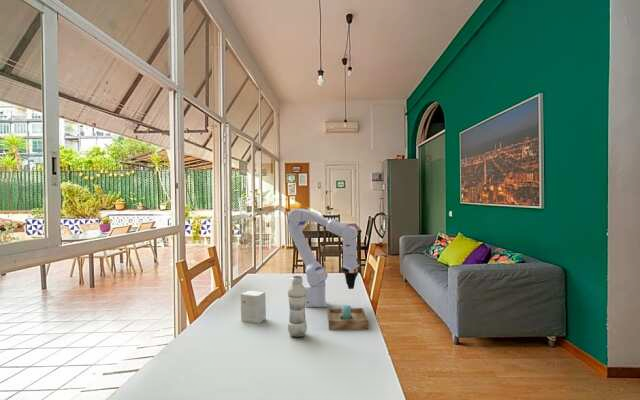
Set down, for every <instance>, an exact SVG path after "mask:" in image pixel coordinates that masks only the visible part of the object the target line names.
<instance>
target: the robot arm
mask: <svg viewBox="0 0 640 400" xmlns="http://www.w3.org/2000/svg"><path fill="white" fill-rule="evenodd" d="M287 220H288V221H287V222H288V232H289V234H290V237H291V239H292V240H293V243H294V245H295V246H296V249H297V251H298V253H299V255H300V257H301V260H302V261H303V263H304V266H305V270H304V271H305V274H306V280H307V283H308V284H305V285H304V288H305V289H306V300H305V308H321V307H322V308H325V307H326V308H327V307H328V305H327V299H326V280H327V278H328V272H327V270H326V269H325V268H324V267H323V266H322V264H321V263H320V262H318V261H317V259H316V257H315V255H314V253H313V250H312V249H311V247H310V245H309V242H308V241H307V239H306V237H305V235H304V232H303V231H302V230H303V228H304V225H305V224H306V223H307V222H308V221H311V222H312V223H313V222H314V223H317V224H319V225H320V226H323V227H326V230H327V231H328V232H330V233H332V234H334V235H336V236H339V237H341V239H342V242H343V243H342V256H343V257H342V258H343V259H342V261H343V262H342V270H343V273H344V276H345V282H346V285H347V288H348V290H353V289H355V282H356V280H357V276H358V275H359V273H358V271H356V268H359V267H360V264H357V262H358V261H357V237H358V235H359V232H358V229H357V228H356V227H355V226H353V225H349V223H344V222H341V221H340V220H339V219H338V218H331V219H328V218H327V217H324V216H322V215H320V214H318V213H316V212H315V211H312V210H310V209H307V208H292V209H291V210H290V211H289V212H288V214H287Z"/></svg>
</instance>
